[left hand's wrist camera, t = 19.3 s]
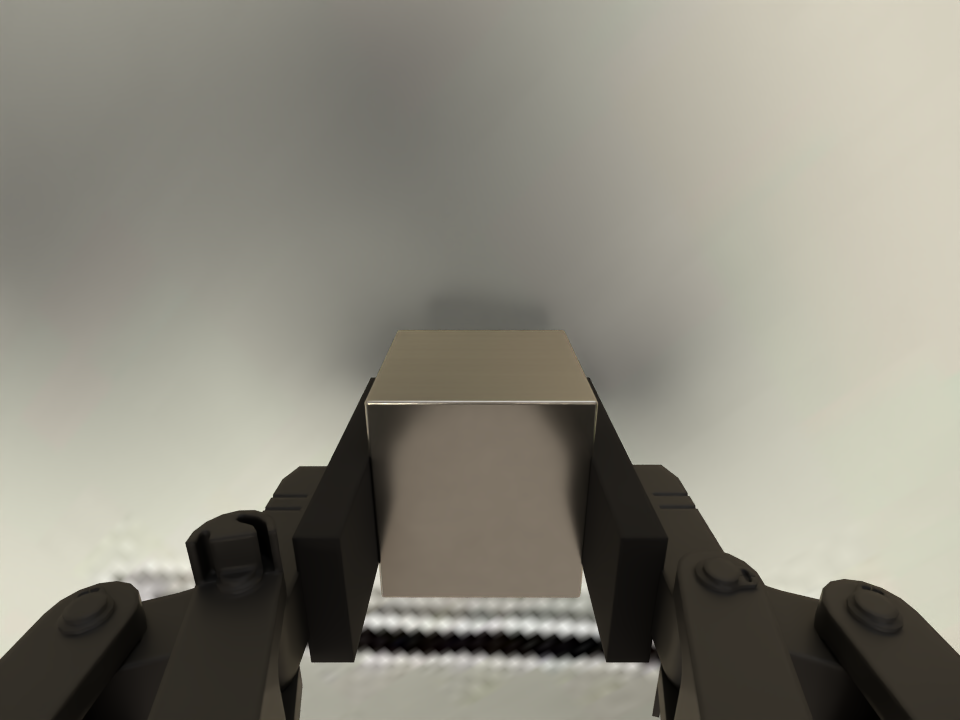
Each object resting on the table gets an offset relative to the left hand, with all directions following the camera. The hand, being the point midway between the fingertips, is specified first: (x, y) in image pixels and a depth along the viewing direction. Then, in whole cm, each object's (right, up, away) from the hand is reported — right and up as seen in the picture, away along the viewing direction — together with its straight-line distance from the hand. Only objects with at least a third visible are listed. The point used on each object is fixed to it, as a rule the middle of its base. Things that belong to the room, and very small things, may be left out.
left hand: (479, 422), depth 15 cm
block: (0, 0, 0) cm, 0 cm away
